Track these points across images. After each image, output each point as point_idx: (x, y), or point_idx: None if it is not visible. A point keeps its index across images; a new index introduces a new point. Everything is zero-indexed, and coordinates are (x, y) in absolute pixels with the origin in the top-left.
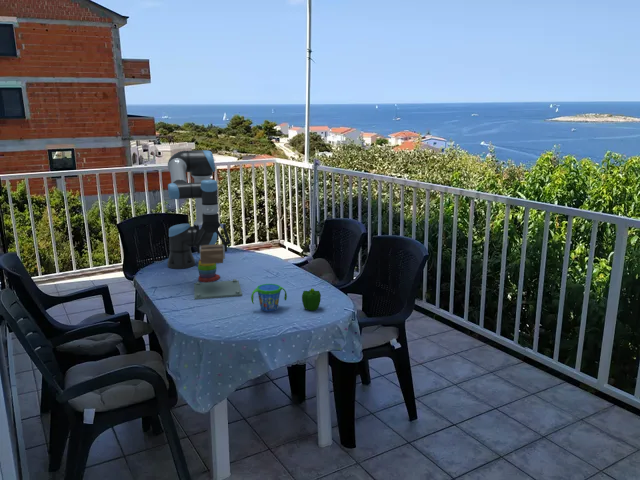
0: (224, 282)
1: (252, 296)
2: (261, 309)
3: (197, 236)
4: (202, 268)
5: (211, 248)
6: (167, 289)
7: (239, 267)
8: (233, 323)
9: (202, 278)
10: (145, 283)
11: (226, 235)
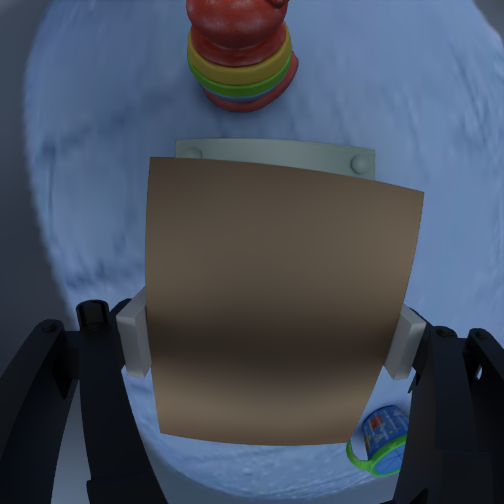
0: (314, 161)
1: (350, 460)
2: (362, 427)
3: (55, 457)
4: (209, 86)
5: (265, 374)
6: (82, 180)
7: None
8: (282, 467)
9: (214, 95)
10: (32, 106)
11: (484, 442)
